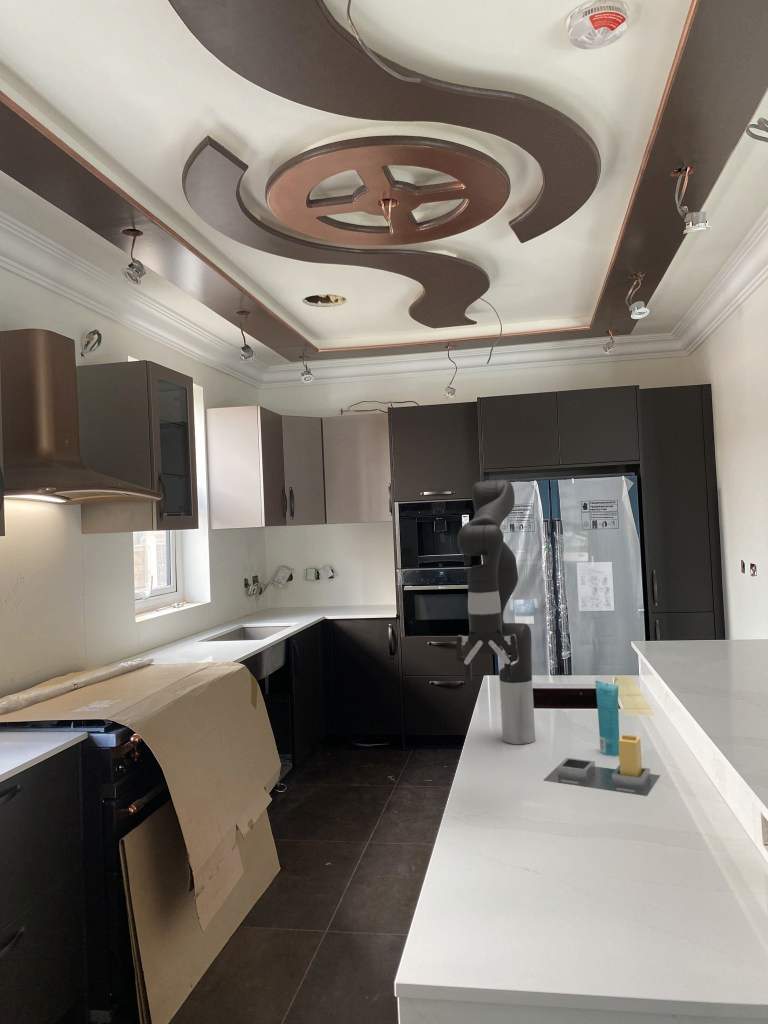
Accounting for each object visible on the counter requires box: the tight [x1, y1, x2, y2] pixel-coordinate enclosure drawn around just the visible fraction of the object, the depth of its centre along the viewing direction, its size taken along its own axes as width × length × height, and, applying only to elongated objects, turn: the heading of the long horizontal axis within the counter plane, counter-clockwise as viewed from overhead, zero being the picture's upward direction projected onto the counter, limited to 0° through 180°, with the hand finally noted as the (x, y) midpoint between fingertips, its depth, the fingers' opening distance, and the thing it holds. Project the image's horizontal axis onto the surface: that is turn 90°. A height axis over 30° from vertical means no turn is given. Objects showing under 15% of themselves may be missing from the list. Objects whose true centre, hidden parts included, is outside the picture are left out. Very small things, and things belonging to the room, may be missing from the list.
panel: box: [542, 757, 661, 797], centre depth 178 cm, size 14×24×4 cm, turn 58°
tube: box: [594, 680, 620, 757], centre depth 196 cm, size 7×5×19 cm, turn 39°
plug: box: [618, 734, 643, 777], centre depth 174 cm, size 4×4×11 cm
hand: (488, 679), depth 175 cm, fingers open, 8 cm apart
